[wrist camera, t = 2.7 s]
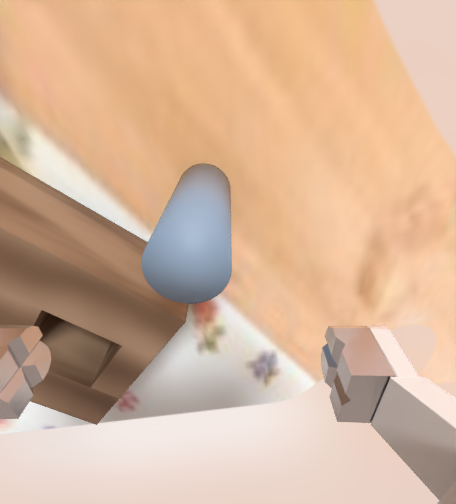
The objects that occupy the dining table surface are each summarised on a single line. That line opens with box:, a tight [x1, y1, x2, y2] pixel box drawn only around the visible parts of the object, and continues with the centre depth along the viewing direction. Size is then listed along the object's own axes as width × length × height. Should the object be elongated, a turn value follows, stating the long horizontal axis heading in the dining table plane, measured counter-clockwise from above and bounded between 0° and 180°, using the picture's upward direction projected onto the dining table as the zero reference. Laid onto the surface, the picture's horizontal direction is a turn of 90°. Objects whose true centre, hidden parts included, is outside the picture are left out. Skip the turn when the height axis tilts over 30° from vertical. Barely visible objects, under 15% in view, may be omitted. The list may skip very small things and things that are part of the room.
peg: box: [141, 164, 232, 304], centre depth 16 cm, size 4×4×10 cm
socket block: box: [0, 158, 188, 425], centre depth 21 cm, size 14×20×6 cm
